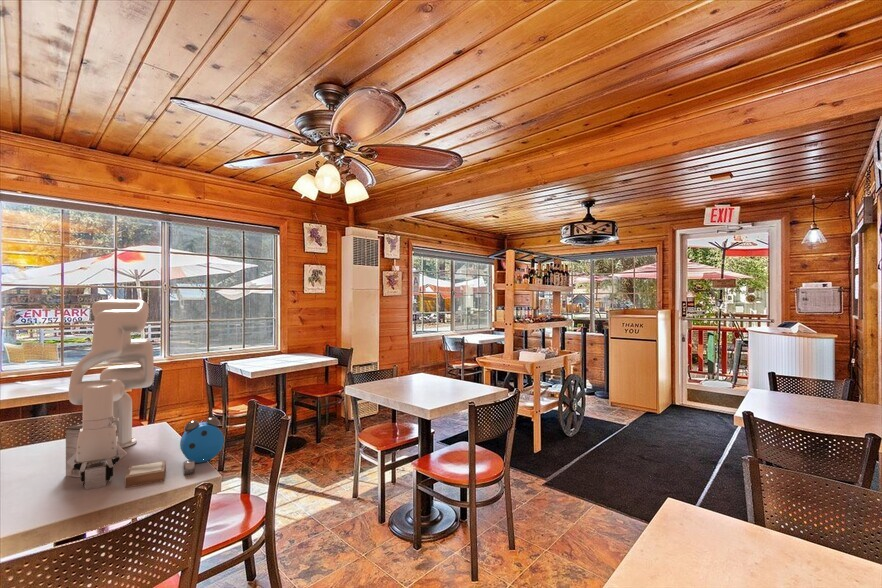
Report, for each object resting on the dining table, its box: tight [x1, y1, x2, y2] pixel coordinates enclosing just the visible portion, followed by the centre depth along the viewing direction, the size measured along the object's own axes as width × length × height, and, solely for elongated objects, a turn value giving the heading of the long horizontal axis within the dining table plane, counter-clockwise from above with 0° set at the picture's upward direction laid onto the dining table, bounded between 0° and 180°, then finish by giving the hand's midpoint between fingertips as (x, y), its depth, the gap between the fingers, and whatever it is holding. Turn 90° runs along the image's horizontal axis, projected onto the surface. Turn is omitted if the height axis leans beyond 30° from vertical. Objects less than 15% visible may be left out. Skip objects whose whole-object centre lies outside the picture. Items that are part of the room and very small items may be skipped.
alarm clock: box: [179, 416, 225, 464], centre depth 152 cm, size 13×6×15 cm, turn 131°
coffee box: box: [65, 422, 106, 478], centre depth 143 cm, size 9×6×16 cm
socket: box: [183, 459, 196, 477], centre depth 141 cm, size 3×3×4 cm
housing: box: [84, 460, 108, 491], centre depth 133 cm, size 5×7×6 cm
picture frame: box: [124, 460, 167, 488], centre depth 137 cm, size 10×10×3 cm
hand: (97, 480), depth 133 cm, fingers closed on housing, 5 cm apart
